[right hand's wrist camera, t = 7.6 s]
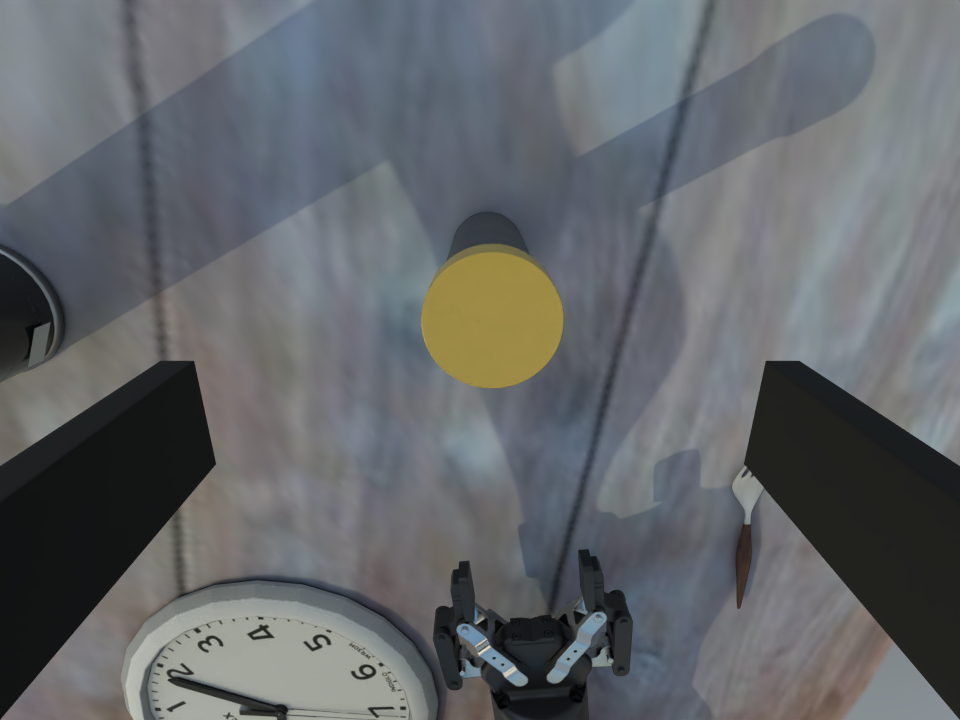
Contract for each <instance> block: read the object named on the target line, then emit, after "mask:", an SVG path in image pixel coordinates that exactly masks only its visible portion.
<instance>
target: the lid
mask: <svg viewBox="0 0 960 720" xmlns="http://www.w3.org/2000/svg"><path fill="white" fill-rule="evenodd" d="M421 326H422V333H423V337H424V341H425V344H426V346H427V348H428V350H429V352H430V354H431V356H432V357H433V359H434V360H435V361H436V363H437V364H438V365H439V366H440V367H441V368H442V369H443V370H444V371H445V372H447V373H448V374H449V375H451V376H452V377H454V378H456V379H457V380H459V381H461V382H464V383H466V384H469V385H472V386H476V387H482V388H503V387H508V386H512V385H515V384H518V383H521V382H523V381H525V380H527V379H529V378H530V377H532V376H534V375H535V374H536V373H538V372H539V371H540V370H541V369H542V368H543V367H544V366H545V365H546V364H547V363H548V362H549V361H550V359H551V358H552V357H553V355H554V353H555V352H556V350H557V348H558V346H559V343H560V341H561V337H562V333H563V327H564V312H563V306H562V302H561V299H560V296H559V293H558V291H557V289H556V287H555V285H554V283H553V282H552V280H551V278H550V276H549V275H548V273H547V272H546V270H545V269H544V268H543V266H542V265H541V264H540V263H539V262H538V261H537V260H536V259H534V258H533V257H532V256H530V255H529V254H527V253H526V252H524V251H522V250H520V249H517V248H514V247H511V246H508V245H502V244H482V245H477V246H473V247H470V248H467V249H465V250H463V251H461V252H459V253H457V254H456V255H454V256H453V257H451V258H450V259H449V260H448V261H447V262H445V263H444V264H443V265H442V267H441V268H440V269H439V270H438V272H437V273H436V275H435V276H434V278H433V280H432V282H431V284H430V287H429V289H428V292H427V295H426V297H425V301H424V304H423V308H422V315H421Z"/></svg>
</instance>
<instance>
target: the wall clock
mask: <svg viewBox="0 0 960 720" xmlns="http://www.w3.org/2000/svg"><path fill="white" fill-rule="evenodd" d="M121 681H122V686H123V691H124V697H125V702H126V707H127V709H128V711H129V713H130V715H131V716H132V718H133V720H436V717H437V709H438V696H437V692H436V688H435V684H434V680H433V676H432V672H431V670H430V668H429V667H428V665H427V664H426V662H425V661H424V659H423V658H422V656H421V654H420V653H419V651H418V650H417V648H416V647H415V645H414V644H413V643H412V642H411V641H410V640H409V639H408V638H407V637H406V636H405V635H403V634H402V633H401V632H400V631H399V630H398V629H397V628H395V627H394V626H393V625H392V624H391V623H390V622H389V621H388V620H386V619H385V618H384V617H382V616H380V615H378V614H377V613H375V612H373V611H371V610H369V609H367V608H365V607H363V606H362V605H360V604H358V603H356V602H354V601H352V600H350V599H349V598H347V597H343V596H340V595H337V594H333V593H330V592H326V591H323V590H320V589H316V588H313V587H310V586H306V585H302V584H292V583H281V582H270V581H260V580H256V581H247V582H238V583H229V584H220V585H213V586H210V587H207V588H204V589H202V590H199V591H196V592H193V593H190V594H188V595H185V596H182V597H179V598H176V599H175V600H173V601H172V602H171V603H169V604H168V605H166V606H165V607H164V608H162V609H161V610H159V611H158V612H157V613H155V614H154V615H152V616H151V617H150V618H148V619H147V620H146V622H145V623H144V624H143V626H142V627H141V629H140V630H139V632H138V633H137V635H136V636H135V637H134V639H133V640H132V642H131V643H130V645H129V646H128V648H127V650H126V655H125V659H124V664H123V669H122V674H121Z"/></svg>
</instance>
